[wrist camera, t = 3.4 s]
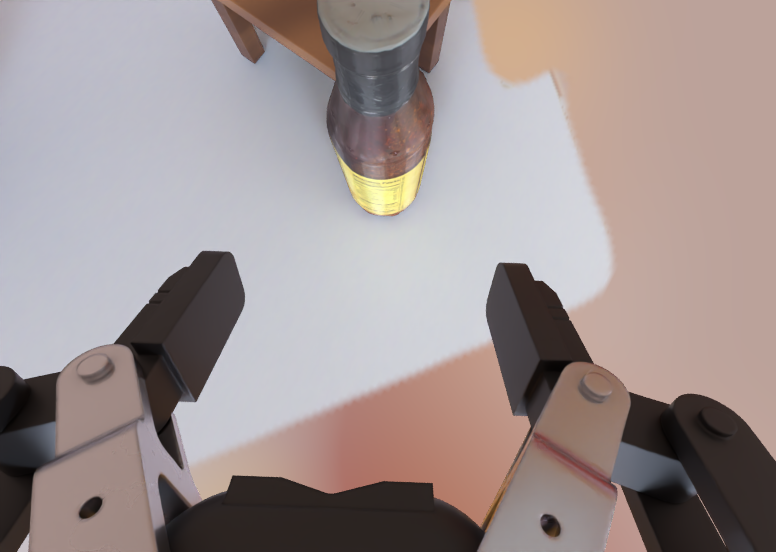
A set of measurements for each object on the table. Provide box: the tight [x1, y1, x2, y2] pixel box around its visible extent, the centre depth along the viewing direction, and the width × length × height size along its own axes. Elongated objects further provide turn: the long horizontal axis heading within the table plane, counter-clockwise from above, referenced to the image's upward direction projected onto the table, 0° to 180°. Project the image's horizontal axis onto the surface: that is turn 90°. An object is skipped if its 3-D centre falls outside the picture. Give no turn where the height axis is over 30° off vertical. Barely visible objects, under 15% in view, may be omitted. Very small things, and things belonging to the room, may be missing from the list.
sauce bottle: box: [317, 0, 434, 216], centre depth 22 cm, size 7×6×20 cm
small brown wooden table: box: [212, 0, 451, 81], centre depth 29 cm, size 16×11×8 cm
